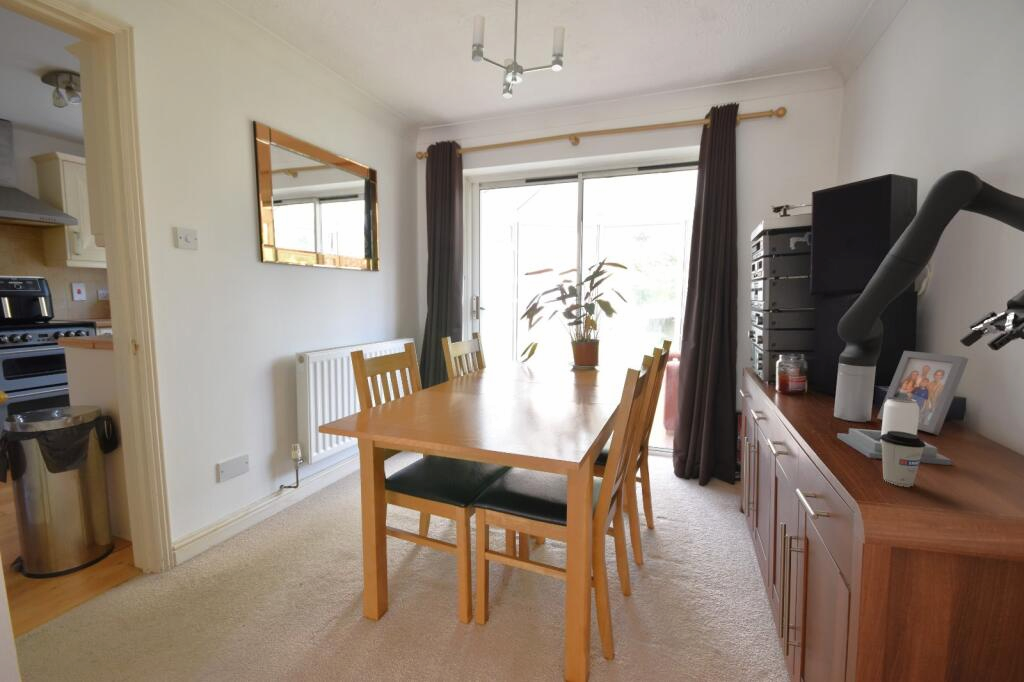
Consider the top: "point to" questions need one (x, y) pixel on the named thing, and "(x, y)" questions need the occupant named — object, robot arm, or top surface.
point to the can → (900, 415)
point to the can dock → (872, 446)
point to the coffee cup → (901, 457)
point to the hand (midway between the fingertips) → (976, 345)
